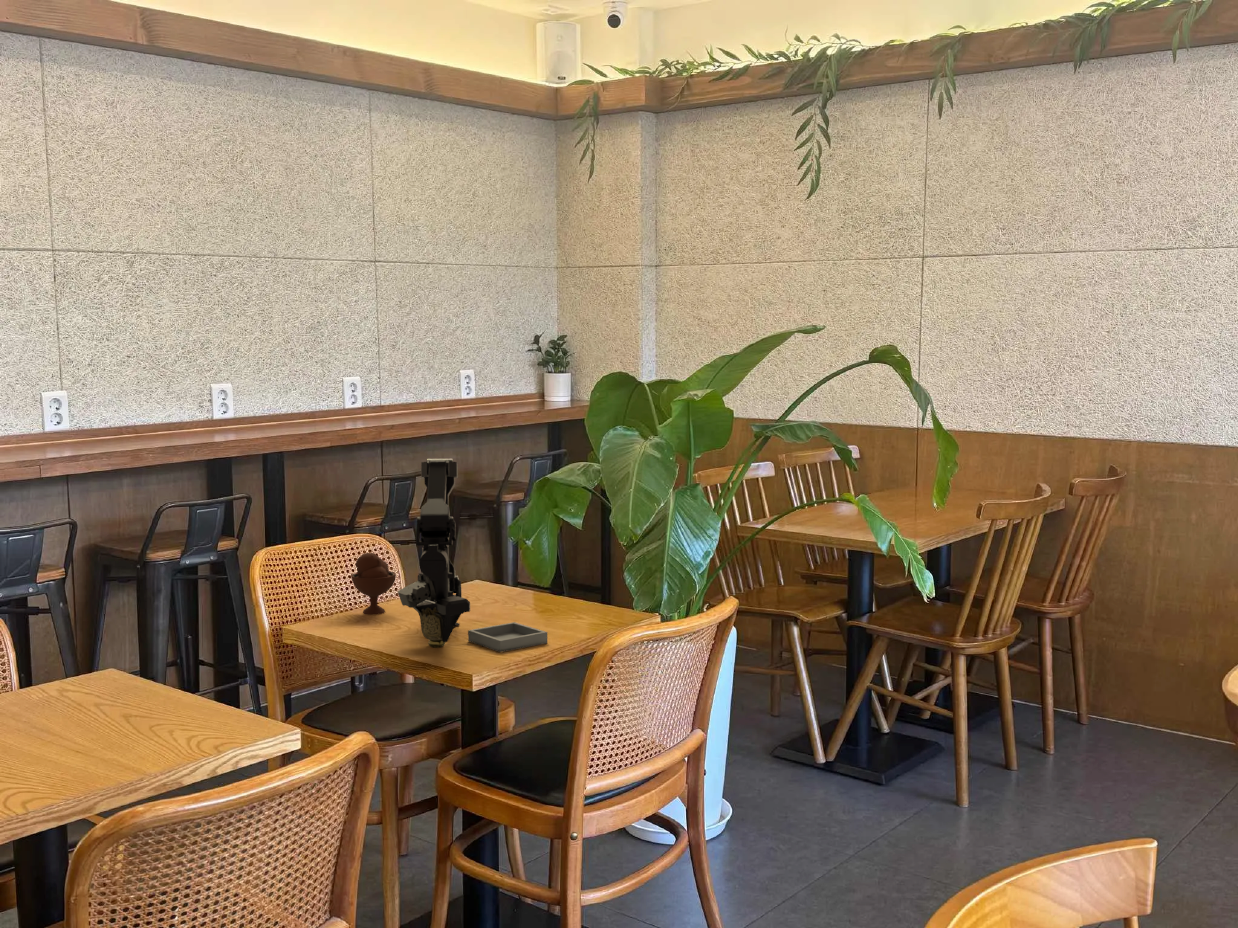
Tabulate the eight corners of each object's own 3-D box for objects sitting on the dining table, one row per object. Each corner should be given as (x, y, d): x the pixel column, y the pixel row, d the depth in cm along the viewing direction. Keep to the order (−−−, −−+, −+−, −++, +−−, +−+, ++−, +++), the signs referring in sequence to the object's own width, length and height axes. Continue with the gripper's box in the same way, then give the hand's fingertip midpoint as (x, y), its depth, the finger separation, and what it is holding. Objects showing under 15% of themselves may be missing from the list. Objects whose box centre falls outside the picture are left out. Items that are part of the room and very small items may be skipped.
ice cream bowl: (392, 617, 298) (391, 556, 297) (346, 616, 298) (345, 555, 297) (400, 607, 309) (399, 548, 307) (356, 607, 309) (355, 548, 307)
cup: (447, 651, 265) (446, 614, 265) (414, 649, 267) (414, 613, 266) (458, 642, 273) (458, 607, 272) (426, 641, 274) (426, 605, 273)
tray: (468, 641, 274) (468, 630, 274) (514, 632, 282) (514, 622, 282) (500, 652, 265) (500, 640, 264) (547, 643, 273) (547, 631, 272)
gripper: (381, 567, 270) (382, 636, 272) (426, 579, 256) (427, 653, 257) (425, 561, 277) (426, 629, 279) (471, 573, 263) (472, 644, 265)
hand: (436, 638), depth 270 cm, fingers closed on cup, 6 cm apart
